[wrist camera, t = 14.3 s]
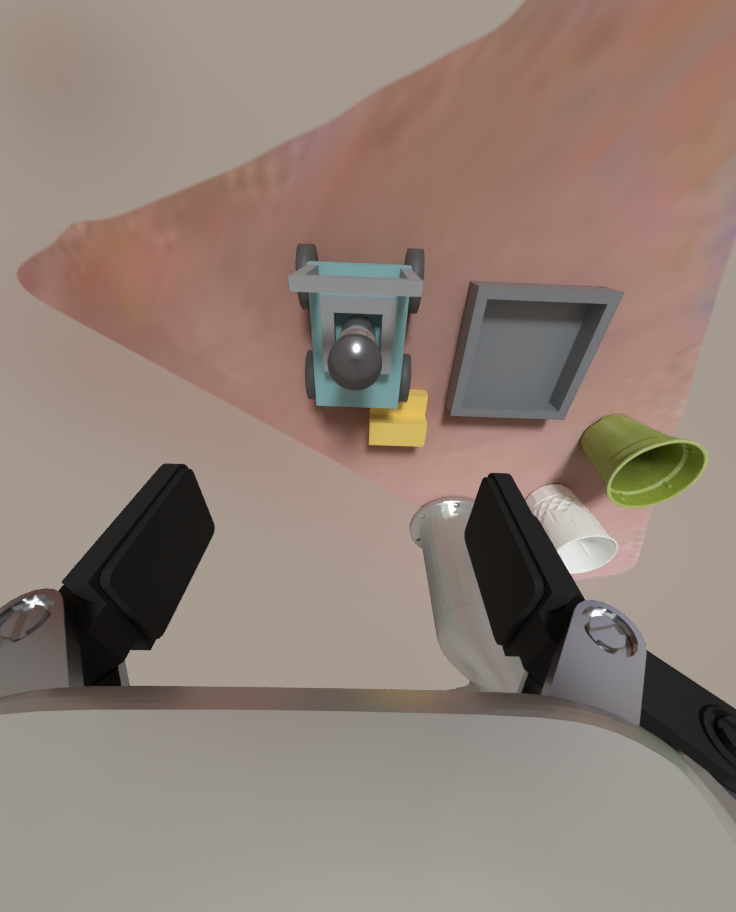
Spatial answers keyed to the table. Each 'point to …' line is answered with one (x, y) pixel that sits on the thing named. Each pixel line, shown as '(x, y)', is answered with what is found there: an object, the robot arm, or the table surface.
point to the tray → (526, 348)
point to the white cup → (572, 528)
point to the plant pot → (641, 461)
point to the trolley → (358, 293)
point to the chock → (400, 422)
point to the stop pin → (355, 355)
